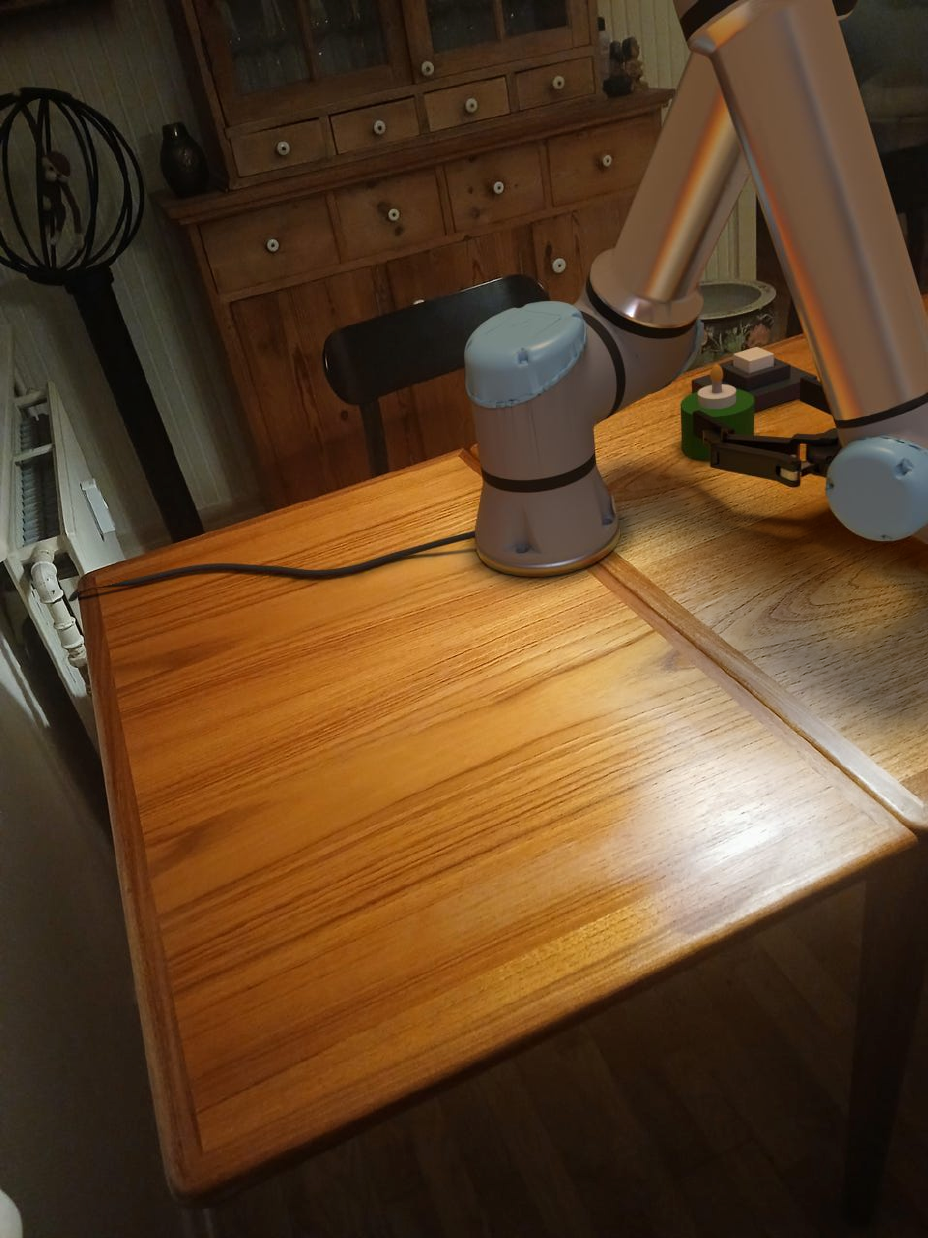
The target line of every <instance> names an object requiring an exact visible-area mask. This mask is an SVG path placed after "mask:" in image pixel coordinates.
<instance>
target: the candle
mask: <svg viewBox="0 0 928 1238" xmlns="http://www.w3.org/2000/svg"><path fill="white" fill-rule="evenodd" d="M718 364H719V363H716V364H714V365H713V366H712V367H711V370H710V373H709V374H710V379H711V381H712V385H709V386H706V387H703V388H701V389H700V390H699V391H698V392H696V393H693V394H692V393H691V394H689V395H687V396H685V397H684V398H683V399H682V400H681V401H680V431H681V432H680V433H681V434H680V435H681V451H682V452H683V454H684V455H686V456H687V457H688V458H690V459H694V460H698V461H703V462H710V450H709V447H707V446H705V445H704V444H703V441H702V440H701V439H699V438H697V437H696V436H694V435H693V412H694V411H697V410H700V411H702V412H704V413H706V414H708V415H709V416H711V417H713V418H715V419H717V420H719V421H720V422H722V423H724V424H726V425H728V426H730V427H731V428H733V429H735V434H739V435H755V412H754V397H753V396H752V395H751V394H750V393H748V392H746V391H743V390H739V389H735V388H734V387H733V386H730V385H725V384H722V379H723V370H722V368H721V366H720V365H718Z"/></svg>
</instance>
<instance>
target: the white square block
mask: <svg viewBox="0 0 928 1238" xmlns="http://www.w3.org/2000/svg"><path fill="white" fill-rule="evenodd" d="M774 358H775V353H773V352H771V351H768V350H766V349H764V348H761V347H758V346H754V347H752V348H748V349H745V350H742V351H738V352H735V353H733V354H732V360H733V366H734V367H736V368H738V369H741V370H743V371H745V372H747V373H752V372H755V371H758V370H761V369H764V368H768V367H771V366H774Z"/></svg>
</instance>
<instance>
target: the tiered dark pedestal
mask: <svg viewBox="0 0 928 1238" xmlns="http://www.w3.org/2000/svg"><path fill="white" fill-rule="evenodd" d="M717 364H718V365H720V366H721V368H722V370H723V379H722V384H725V385H730V386H733V387H734V388H735V389H739V390H743V391H746V392H748V393H750V394H751V395H752V396H753V397H754V413H757V412H761V411H763V410H766V409H769V408H772V407H773V408H774V407H776V406H778V405H782V404H785V403H788V402H791V401H794V400H797V399H798V400H799V399H800V378H801V377H804V376H808V377H810V378H813V379H815V380H818V375H815V374H813V373H811V372H808V371H805V370H804V369H801V368H799V367H796V366H794V365H791V364H790V363H788V362H785V361H783V360H781V359H778V358H776V357H774V366H771V367H768V368H764V369H761V370H758V371H755V372H752V373H747V372H745V371H743V370H741V369H738V368H736V367H734V366H733V359H730V360H727V361H725V362H721V363H717ZM709 385H712V381H711V379H710V373H709V374H706V375H703V376H700V377H697V378H694V379H691V394H693V393H696V392H698V391H699V390H700V389H701V388H703V387H706V386H709Z"/></svg>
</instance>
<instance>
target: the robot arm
mask: <svg viewBox="0 0 928 1238" xmlns="http://www.w3.org/2000/svg"><path fill="white" fill-rule="evenodd" d="M858 1H859V0H672V4H673V7H674V10H675V14H676V17H677V20H678V23H679V26H680V28H681V31H682V34H683V37H684V40H685V44H686V46H687V48H688V50H689V51H690V53H689V55H688V57H687V60H686V63H685V67H684V69H683V71H682V73H681V76H680V78H679V81H678V84H677V86H676V89H675V92H674V94H673V97H672V98H671V99H672V100H671V102H670V104H669V107H668V109H667V112H666V114H665V117H664V121H663V123H662V125H661V128H660V131H659V133H658V135H657V137H656V141H655V143H654V146H653V148H652V151H651V153H650V155H649V159H648V160H647V161H648V162H647V165H646V167H645V169H644V172H643V174H642V177H641V180H640V182H639V185H638V188H637V190H636V192H635V194H634V197H633V200H632V203H631V205H630V208H629V210H628V213H627V216H626V218H625V220H624V223H623V226H622V229H621V231H620V233H619V236H618V239H617V242H616V244H615V247H613V248H609V249H607V250H605V251H603V252H600V254H598V255H597V256H596V258H595V259H594V260H593V262H592V263H591V266H590V269H589V271H588V274H587V277H586V279H585V282H584V284H583V287H582V290H581V292H580V295H579V297H578V299H576V301H575V303H573V304H571V303H568V302H564V301H556V300H546V301H545V300H544V301H536V302H530V303H527V304H525V305H523V306H522V307H518V308H517V307H512V308H509V309H506V310H504V311H502V312H500V313H497V314H495V315H493V316H491V317H490V318H489V319H487V320H486V321H484V322H483V323H481V324H480V325H479V326H478V327H476V329H474V331H473V332H472V333H471V335H470V336H469V337H468V339H467V341H466V344H465V347H464V353H463V358H464V359H463V360H464V368H465V369H464V370H465V379H464V383H465V385H464V386H465V389H466V394H467V396H468V399H469V407H470V411H471V416H472V422H473V428H474V433H475V440H476V445H477V446H476V447H477V453H478V459H479V464H480V465H479V466H480V470H481V471H480V472H481V479H482V486H481V492H480V497H479V503H478V508H477V514H476V520H475V525H474V530H472V531H468V532H463V533H459V534H456V535H452V536H448V537H444V538H440V539H436V540H433V541H430V542H427V543H423V544H420V545H416V546H413V547H408V548H406V549H401V550H398V551H395V552H391V553H389V554H385V555H382V556H379V557H376V558H372V559H370V560H366V561H363V562H360V563H356V564H353V565H347V566H343V567H335V568H328V569H303V568H295V567H287V566H280V565H265V564H263V565H262V564H249V563H248V564H247V563H231V562H229V563H228V562H218V563H217V562H216V563H204V564H203V563H202V564H195V565H187V566H182V567H177V568H172V569H167V570H164V571H160V572H156V573H153V574H147V575H143V576H139V577H133V578H129V579H123V580H124V581H122V582H119V583H115V584H112V585H108V586H103V587H98V588H97V589H103V588H104V589H105V588H121V587H122V588H124V587H131V586H137V585H141V584H146V583H150V582H155V581H157V580H162V579H165V578H166V579H167V578H170V577H175V576H179V575H185V574H190V573H197V572H206V571H243V572H253V573H254V572H256V573H257V572H258V573H273V574H282V575H283V574H284V575H290V576H296V577H297V576H298V577H307V578H322V577H324V578H325V577H334V576H341V575H346V574H352V573H356V572H359V571H363V570H367V569H370V568H372V567H376V566H379V565H382V564H385V563H388V562H391V561H394V560H398V559H402V558H405V557H408V556H412V555H416V554H419V553H423V552H426V551H430V550H433V549H437V548H440V547H444V546H448V545H451V544H455V543H460V542H463V541H468V540H471V539H474V543H475V547H476V548H475V549H476V553H477V555H478V557H479V558H480V560H481V561H482V562H483V563H484V564H485V565H487V566H488V567H489V568H491V569H493V570H495V571H498V572H500V573H503V574H507V575H511V576H517V577H526V578H527V577H528V578H537V577H538V578H539V577H540V578H542V577H553V576H558V575H564V574H568V573H572V572H575V571H579V570H582V569H584V568H587V567H588V566H591V565H594V564H595V563H597V562H599V561H601V560H602V559H603V558H605V557H606V556H607V555H609V554H610V553H611V552H612V551H613V550H614V549H615V548H616V546H617V544H618V542H619V540H620V537H621V528H620V527H621V524H620V517H619V513H618V510H617V507H616V502H615V498H614V495H613V493H612V490H610V491H609V490H608V488H607V485H606V483H605V481H604V479H603V477H602V474H601V472H600V470H599V468H598V464H597V454H596V442H595V431H594V429H595V426H597V425H599V424H601V423H603V421H604V422H605V420H607V419H609V418H610V417H611V418H612V416H614V415H616V414H618V413H620V412H622V411H623V410H625V409H626V408H628V407H630V406H631V405H633V404H635V403H637V402H638V401H640V400H642V399H644V398H646V397H647V396H649V395H653V394H655V393H657V392H659V391H662V390H664V389H665V388H667V387H669V386H670V385H672V383H673V382H675V381H676V380H677V379H678V378H679V377H680V376H682V375H683V374H684V373H685V372H686V371H687V370H688V369H689V368H690V366H692V365H693V363H694V362H695V360H696V359H697V356H698V354H699V352H700V349H701V347H702V343H703V338H704V333H705V323H704V322H702V320H701V315H703V307H704V303H705V302H704V301H705V298H704V293H703V290H702V288H701V285H700V284H699V281H700V279H701V277H702V275H703V273H704V271H705V269H706V267H707V265H708V263H709V260H710V259H711V256H712V254H713V252H714V250H715V248H716V246H717V244H718V242H719V240H720V237H721V236H722V234H723V232H724V229H725V227H726V226H727V223H728V221H729V219H730V218H731V215H732V213H733V211H734V209H735V207H736V205H737V203H738V201H739V199H740V196H741V194H742V192H743V190H744V188H745V187H746V184H747V182H748V180H749V178H750V179H751V183H752V185H753V189H754V191H755V194H756V197H757V200H758V203H759V206H760V209H761V212H762V214H763V218H764V220H765V223H766V227H767V229H768V232H769V235H770V238H771V241H772V244H773V247H774V249H775V253H776V256H777V258H778V261H779V264H780V267H781V270H782V272H783V273H782V274H783V277H784V279H785V282H786V285H787V287H788V292H789V294H790V297H791V300H792V303H793V306H794V309H795V311H796V314H797V318H798V321H799V323H800V326H801V329H802V331H803V332H802V333H803V334H804V338H805V341H806V343H807V346H808V349H809V352H810V356H811V358H812V361H813V364H814V367H815V370H816V373H817V377H818V378H819V380H818V379H817V380H815V379H813V378H810V377H808V376H804V377H801V378H800V398H799V402H801V403H803V404H806V405H808V406H810V407H812V408H814V409H816V410H819V411H821V412H823V413H825V414H828V415H830V416H831V417H832V420H833V423H834V426H835V427H833V428H830V429H827V430H826V431H824V432H819V433H794V434H793V435H792V436H791V437H785V436H772V435H771V436H769V435H755V434H754V435H739V434H735V429H733V428H731V427H730V426H728V425H726V424H724V423H722V422H720V421H719V420H717V419H715V418H713V417H711V416H709V415H708V414H706V413H704V412H702V411H700V410H697V411H694V412H693V435H694V436H696V437H697V438H699V439H701V440H702V441H703V444H704V445H705V446H707V447H709V450H710V461H709V467H710V468H711V469H716V470H719V471H725V472H731V473H735V474H741V475H745V476H748V477H749V476H750V477H755V478H758V479H759V478H760V479H764V480H769V481H774V482H777V483H780V484H782V485H784V486H786V487H789V488H792V489H796V488H799V487H800V486H801V485H802V484H801V483H802V482H801V481H802V478H803V477H806V476H809V475H812V476H815V477H821V478H825V487H824V493H825V498H826V501H827V504H828V506H829V508H830V510H831V512H832V513H833V515H834V516H835V517H836V519H837V520H838V521H839V522H840V523H841V524H842V525H843V526H844V527H845V528H847V529H848V530H849V531H851V532H852V533H854V534H855V535H857V536H860V537H862V538H864V539H868V540H871V541H877V542H891V543H893V542H894V541H899V540H902V539H906V538H907V537H910V536H912V537H913V538H915V539H917V540H919V541H920V542H922V543H924V544H926V545H927V546H928V315H927V312H926V309H925V308H926V307H925V304H924V302H923V298H922V295H921V291H920V287H919V285H918V282H917V278H916V275H915V272H914V268H913V264H912V262H911V258H910V255H909V252H908V248H907V244H906V242H905V239H904V236H903V232H902V228H901V225H900V221H899V219H898V216H897V215H898V214H897V212H896V208H895V204H894V202H893V198H892V195H891V192H890V188H889V186H888V182H887V178H886V175H885V172H884V169H883V165H882V162H881V158H880V155H879V151H878V149H877V146H876V142H875V138H874V136H873V135H874V134H873V133H872V129H871V125H870V123H869V118H868V116H867V115H868V114H867V111H866V108H865V106H864V102H863V98H862V95H861V93H860V89H859V85H858V82H857V78H856V75H855V72H854V69H853V66H852V63H851V59H850V55H849V53H848V49H847V46H846V42H845V39H844V36H843V35H844V34H843V32H842V30H841V25H840V22H841V21H842V20H844V19H846V18H848V17H849V16H850V15H851V14H852V12H853V11H854V9H855V7H856V5H857V3H858ZM801 445H805V460H801ZM94 589H96V588H92V589H88V590H84V591H80V592H78V588H76V589H75V590H74V591H73V592H72V593H71V594H70V595H69V598H68V600H67V602H69V603H71V602H75V601H76V600H77V599H78V598H79V596H81V595H82V594H83V593H86V592H88V591H91V590H94Z"/></svg>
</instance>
